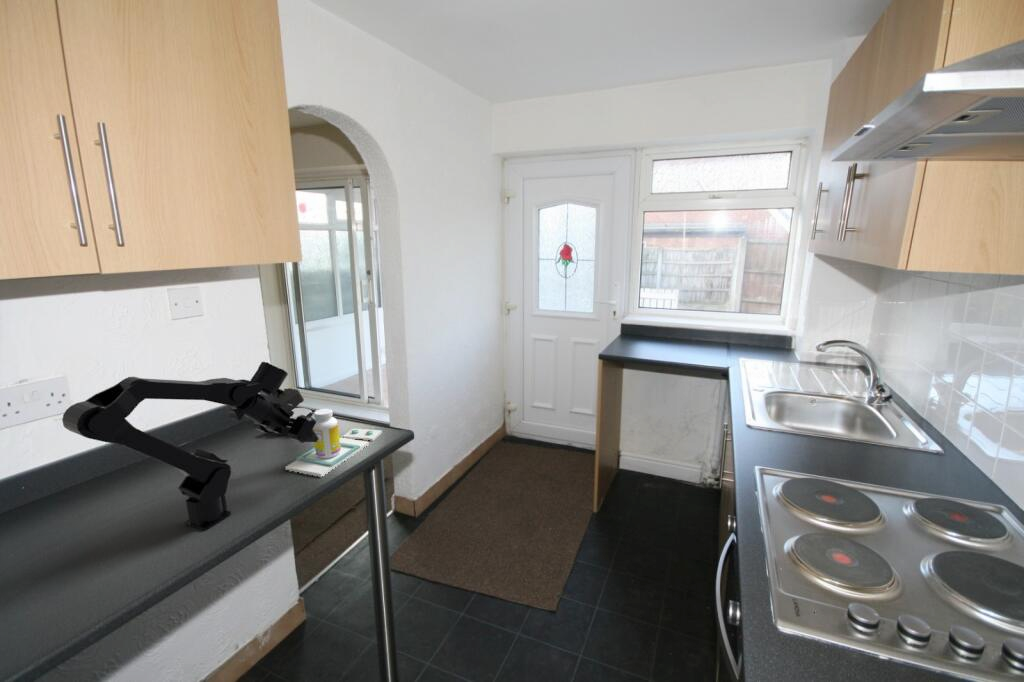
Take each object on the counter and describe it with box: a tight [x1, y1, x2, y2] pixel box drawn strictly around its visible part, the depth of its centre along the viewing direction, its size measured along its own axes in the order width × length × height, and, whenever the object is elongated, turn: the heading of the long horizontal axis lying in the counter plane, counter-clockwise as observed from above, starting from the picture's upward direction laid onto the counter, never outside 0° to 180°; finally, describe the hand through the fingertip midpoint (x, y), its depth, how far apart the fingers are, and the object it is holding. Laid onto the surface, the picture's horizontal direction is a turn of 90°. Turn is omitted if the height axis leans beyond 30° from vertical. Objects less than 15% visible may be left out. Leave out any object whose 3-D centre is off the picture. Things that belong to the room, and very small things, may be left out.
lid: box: [342, 428, 383, 442], centre depth 147 cm, size 6×10×1 cm, turn 78°
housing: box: [285, 436, 370, 478], centre depth 133 cm, size 20×12×2 cm, turn 160°
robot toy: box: [260, 407, 318, 433], centre depth 154 cm, size 12×4×15 cm
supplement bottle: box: [313, 408, 341, 458], centre depth 131 cm, size 7×7×13 cm
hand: (305, 436), depth 125 cm, fingers open, 9 cm apart
